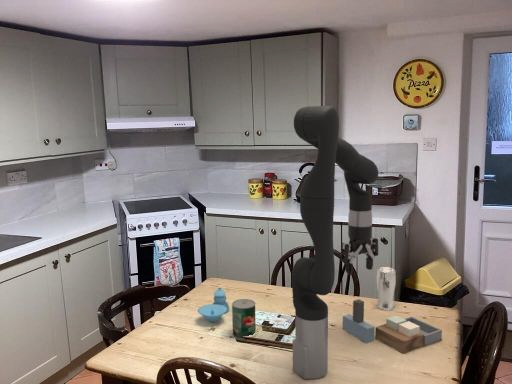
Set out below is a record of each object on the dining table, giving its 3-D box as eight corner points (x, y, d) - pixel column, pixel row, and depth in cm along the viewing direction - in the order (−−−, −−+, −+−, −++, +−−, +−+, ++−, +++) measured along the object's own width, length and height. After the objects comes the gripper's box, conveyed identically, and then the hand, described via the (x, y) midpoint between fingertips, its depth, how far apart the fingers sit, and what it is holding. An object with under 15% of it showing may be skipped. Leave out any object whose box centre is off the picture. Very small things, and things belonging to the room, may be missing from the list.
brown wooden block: (403, 353, 145) (403, 341, 145) (375, 338, 156) (375, 327, 155) (423, 346, 150) (423, 334, 149) (394, 331, 160) (395, 320, 159)
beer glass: (381, 311, 177) (383, 273, 175) (372, 304, 183) (373, 267, 181) (398, 309, 179) (399, 271, 176) (388, 302, 185) (389, 266, 183)
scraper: (367, 343, 152) (368, 308, 151) (342, 329, 163) (343, 296, 161) (374, 341, 154) (375, 306, 152) (349, 327, 164) (349, 294, 162)
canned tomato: (253, 340, 156) (252, 308, 154) (230, 338, 157) (229, 307, 156) (257, 329, 163) (257, 299, 162) (235, 328, 165) (235, 298, 163)
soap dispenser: (222, 328, 165) (221, 304, 163) (194, 326, 167) (193, 302, 166) (235, 308, 182) (235, 286, 181) (210, 306, 184) (209, 284, 183)
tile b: (396, 330, 152) (396, 323, 152) (386, 325, 156) (386, 318, 156) (406, 327, 154) (406, 320, 154) (395, 322, 158) (396, 315, 158)
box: (424, 346, 150) (425, 336, 149) (394, 331, 160) (395, 321, 160) (441, 340, 154) (441, 330, 153) (411, 325, 164) (411, 316, 164)
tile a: (409, 337, 148) (409, 329, 147) (398, 331, 151) (398, 324, 151) (419, 333, 150) (419, 326, 149) (408, 328, 154) (408, 321, 153)
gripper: (351, 228, 146) (350, 278, 148) (384, 222, 153) (383, 270, 155) (335, 223, 152) (335, 272, 155) (368, 218, 159) (367, 264, 162)
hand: (359, 271), depth 155 cm, fingers open, 8 cm apart
